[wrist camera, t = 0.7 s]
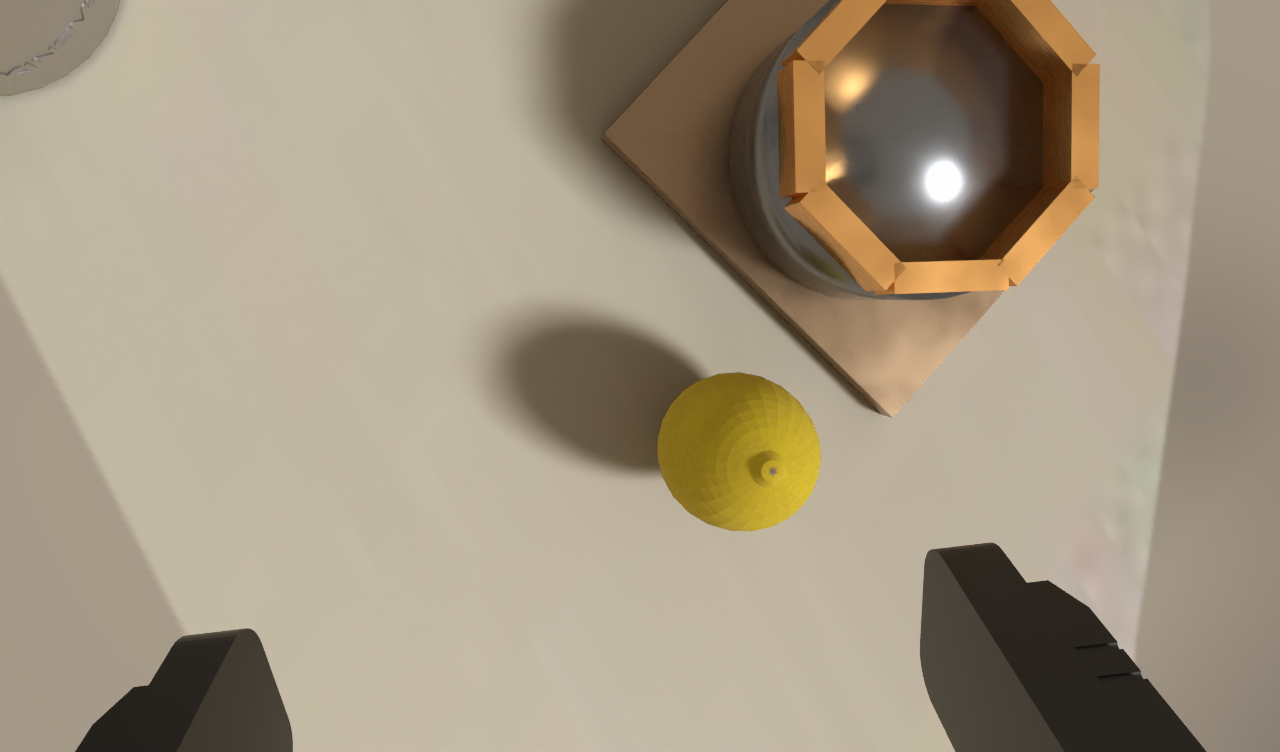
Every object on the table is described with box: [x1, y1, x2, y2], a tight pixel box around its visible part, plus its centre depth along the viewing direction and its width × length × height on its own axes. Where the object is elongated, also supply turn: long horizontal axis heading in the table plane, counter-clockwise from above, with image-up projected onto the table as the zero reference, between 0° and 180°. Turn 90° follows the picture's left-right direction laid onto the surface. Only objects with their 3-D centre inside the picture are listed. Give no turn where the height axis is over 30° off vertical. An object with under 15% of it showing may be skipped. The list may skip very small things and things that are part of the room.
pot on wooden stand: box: [601, 0, 1100, 418], centre depth 31 cm, size 16×13×8 cm
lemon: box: [658, 373, 821, 531], centre depth 31 cm, size 6×6×8 cm
